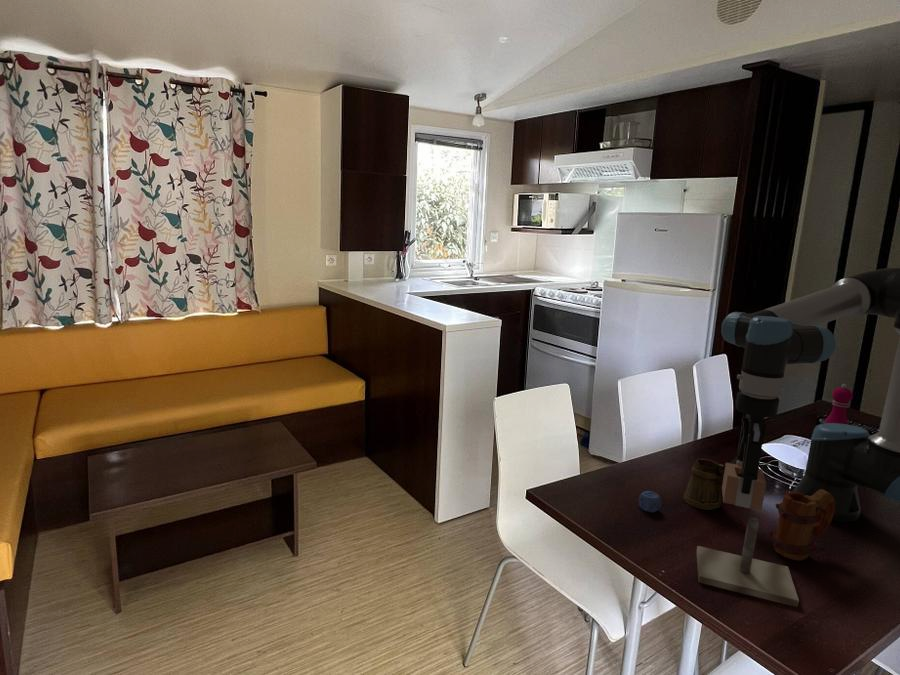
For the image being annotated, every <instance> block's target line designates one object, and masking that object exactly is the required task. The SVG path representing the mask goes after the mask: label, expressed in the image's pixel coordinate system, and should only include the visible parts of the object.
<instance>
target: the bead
mask: <svg viewBox="0 0 900 675" xmlns="http://www.w3.org/2000/svg"><path fill="white" fill-rule="evenodd" d="M725 464H726V465H725V471H724V476H723V479H722V483H723V484H722V483H721V484H722V494H721V495H722V501H723V503H725V504H728V505H729V504H730V505H734V506H736V505H735V500H736V494H737V488H738V482H739V477H738V476H737V473H739V474H741V472H742V466H741V465H736V463H734V464H731V463H727V462H725ZM757 476H758V479H757V480H755V482H754V488H753V493H752V499H751V505H750V508H749V509H752V510H757V511H762V510H763V504H764V498H765V495H766V494H765V492H766V489H767V488H766V487H767V481H766V477H765V474H764V471H763V469H761V468H759V469H758V475H757Z"/></svg>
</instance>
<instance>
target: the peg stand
mask: <svg viewBox="0 0 900 675" xmlns="http://www.w3.org/2000/svg"><path fill="white" fill-rule="evenodd" d="M759 524H760V519H758V518H756V517H752V516H749V517H748V518H747V524H746V530H745V535H744V543H743V547H742V552H741V555H739V554H735V553H731V552H726V551H722V550H716V549H713V548H709V547H704V546H699V545H697V546H696V563H697V577H698V578H697V579H698V580H697V581H698V583H700V584H703V585H706V586H707V585H708V586H712V587H715V588H719V589H724V590H728V591H731V592H735V593H740V594H743V595H746V596H751V597H755V598H758V599H763V600H767V601H771V602H776V603H780V604H782V605H787V606H791V607H795V608H798V607H799V602H800V600H799V596H798V594H797V593H798V592H797V590H796V587H795V584H794V581H793V579H792V578H793V577H792V575H791V572H790V568H789V566H787V565H782V564H778V563H774V562H769V561H765V560H760V559H757V558H753V557H754V552H755V547H756V542H757V536H758V530H759Z"/></svg>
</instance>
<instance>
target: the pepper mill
mask: <svg viewBox="0 0 900 675" xmlns="http://www.w3.org/2000/svg"><path fill="white" fill-rule="evenodd" d="M831 396H832V398H833V399H832V403H831V404H832V410H831V412H830V414H829V415H828V416H827V417H826V419H825V421H824V423H838V424H847V425H849V421H848V418H847V409H848V408H849V407H850V401H852V399H853V397H854V395H853V392H852V391H851V390H850V389H848V385H847V384H846V383H842V384H841V387H837V388H835V389H834V390H833V391H832V394H831Z"/></svg>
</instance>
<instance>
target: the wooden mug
mask: <svg viewBox="0 0 900 675" xmlns="http://www.w3.org/2000/svg"><path fill="white" fill-rule="evenodd" d="M737 460H739V459H738V458H737V455H736V456H734V457H733V458H731V459H730V460H728V461H727V462H726V463H731V464H736V463H737ZM739 461H740V460H739ZM726 463H724V464H720V463H718V462H716V461H714V460H712V459H706V458H697V459H695V461H694V464H693V465H692V467H691V474H690V478H689V480H688V484H687V487H686V490H684V493H683V497H682V498H683V501H684V502H685V503H686V504H687V505H690V506H691V507H693V508H697V509H701V510H704V511H705V510H706V511H713V510H717V509H719V508H720V507H721V504H722V499H721V496H722V495H723V494H722V484H723V482H722V483H720V479H721V478H722V477H724V471H725V465H726Z"/></svg>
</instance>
